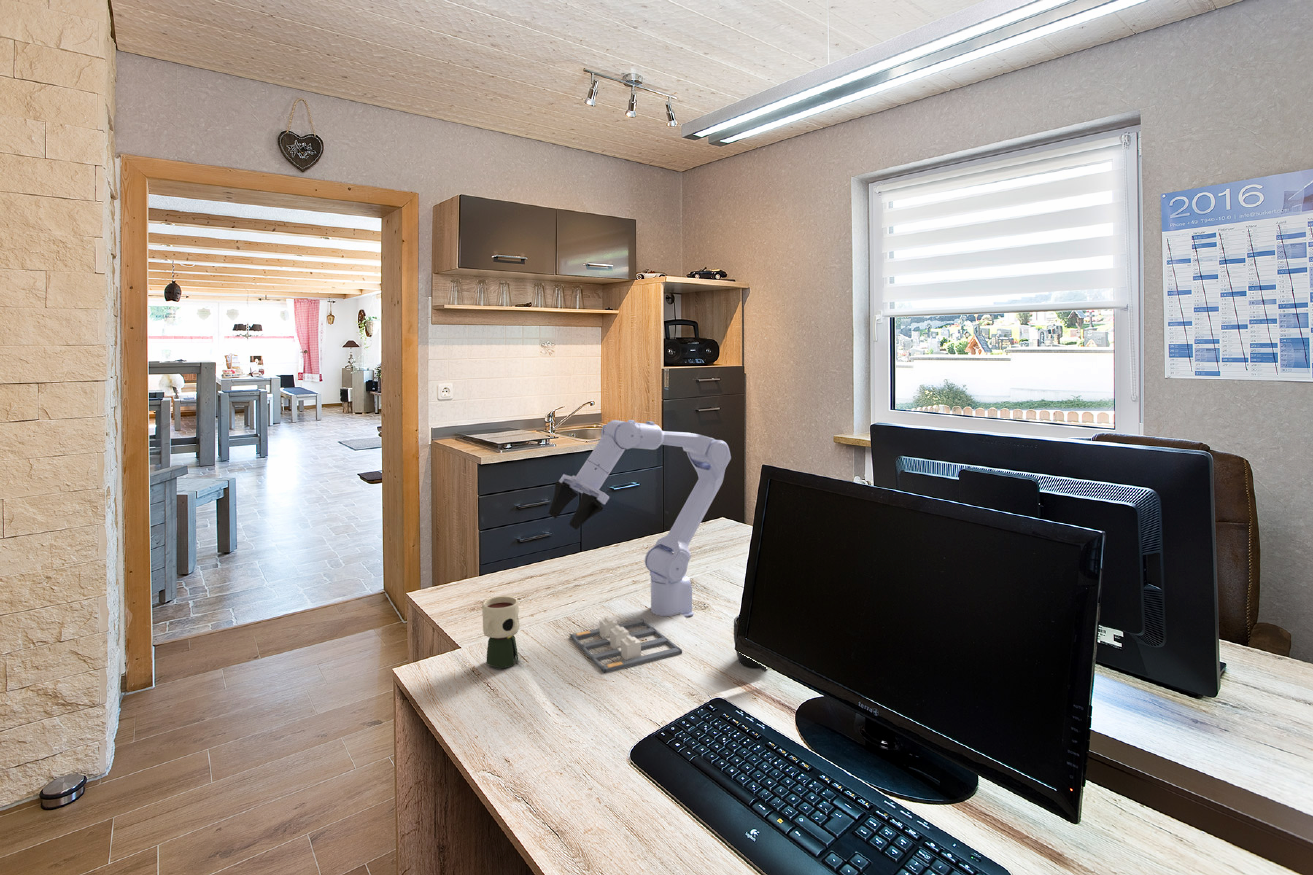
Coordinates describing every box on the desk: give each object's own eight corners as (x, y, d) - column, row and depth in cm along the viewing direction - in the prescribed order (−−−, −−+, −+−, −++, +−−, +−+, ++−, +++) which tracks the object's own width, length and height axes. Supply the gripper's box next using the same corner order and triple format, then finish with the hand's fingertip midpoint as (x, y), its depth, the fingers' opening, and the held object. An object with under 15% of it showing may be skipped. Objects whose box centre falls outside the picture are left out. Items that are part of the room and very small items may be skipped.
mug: (778, 651, 141) (778, 607, 139) (773, 678, 129) (774, 631, 128) (738, 647, 143) (739, 604, 141) (730, 673, 131) (731, 627, 130)
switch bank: (642, 626, 153) (642, 618, 153) (682, 658, 138) (682, 649, 137) (570, 642, 145) (570, 634, 145) (604, 678, 130) (603, 669, 129)
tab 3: (634, 652, 138) (634, 633, 137) (640, 658, 135) (640, 639, 135) (621, 655, 137) (620, 636, 136) (627, 661, 134) (627, 642, 133)
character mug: (501, 679, 130) (499, 614, 128) (471, 672, 132) (468, 609, 130) (532, 654, 140) (530, 594, 138) (503, 649, 142) (501, 590, 140)
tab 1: (612, 632, 148) (611, 614, 147) (618, 637, 145) (617, 619, 144) (599, 635, 146) (599, 617, 146) (605, 640, 144) (604, 622, 143)
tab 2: (622, 642, 143) (622, 623, 142) (629, 647, 140) (628, 629, 140) (610, 645, 141) (609, 626, 141) (616, 650, 139) (615, 631, 138)
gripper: (566, 450, 148) (531, 502, 144) (607, 467, 138) (571, 524, 134) (585, 466, 152) (551, 517, 149) (626, 484, 142) (591, 539, 139)
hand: (562, 521), depth 142 cm, fingers open, 7 cm apart
